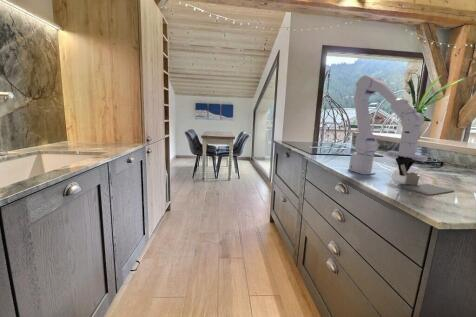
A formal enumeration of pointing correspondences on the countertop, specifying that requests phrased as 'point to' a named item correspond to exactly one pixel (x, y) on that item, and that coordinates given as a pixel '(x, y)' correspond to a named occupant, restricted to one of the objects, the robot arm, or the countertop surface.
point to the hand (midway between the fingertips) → (402, 175)
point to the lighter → (410, 176)
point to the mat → (428, 189)
